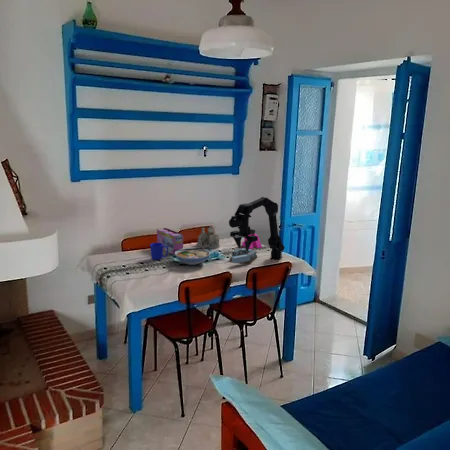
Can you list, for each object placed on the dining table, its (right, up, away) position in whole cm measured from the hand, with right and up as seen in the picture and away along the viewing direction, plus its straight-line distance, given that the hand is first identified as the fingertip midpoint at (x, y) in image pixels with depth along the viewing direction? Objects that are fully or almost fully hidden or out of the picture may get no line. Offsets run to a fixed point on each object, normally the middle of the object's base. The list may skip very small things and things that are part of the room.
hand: (243, 249), depth 278 cm
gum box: (-50, -3, +40) cm, 64 cm away
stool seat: (+1, -8, +21) cm, 22 cm away
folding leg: (-1, -8, +11) cm, 13 cm away
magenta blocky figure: (+8, -1, +52) cm, 52 cm away
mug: (-55, -8, +20) cm, 59 cm away
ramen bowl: (-32, -10, +12) cm, 36 cm away
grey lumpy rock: (-24, 0, +52) cm, 57 cm away
